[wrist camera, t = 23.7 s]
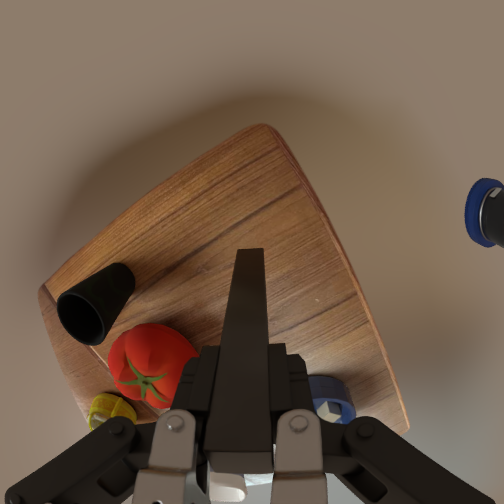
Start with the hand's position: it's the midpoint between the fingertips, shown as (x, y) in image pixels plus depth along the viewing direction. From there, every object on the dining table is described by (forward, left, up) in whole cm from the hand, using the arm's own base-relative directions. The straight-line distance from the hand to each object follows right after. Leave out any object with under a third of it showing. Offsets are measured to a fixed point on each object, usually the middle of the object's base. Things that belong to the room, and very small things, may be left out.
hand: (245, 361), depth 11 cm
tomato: (+17, +20, -26) cm, 37 cm away
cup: (+21, +7, -26) cm, 34 cm away
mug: (+33, +38, -26) cm, 56 cm away
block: (-12, +37, -25) cm, 46 cm away
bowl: (+13, +61, -26) cm, 67 cm away
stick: (0, 0, -11) cm, 11 cm away
